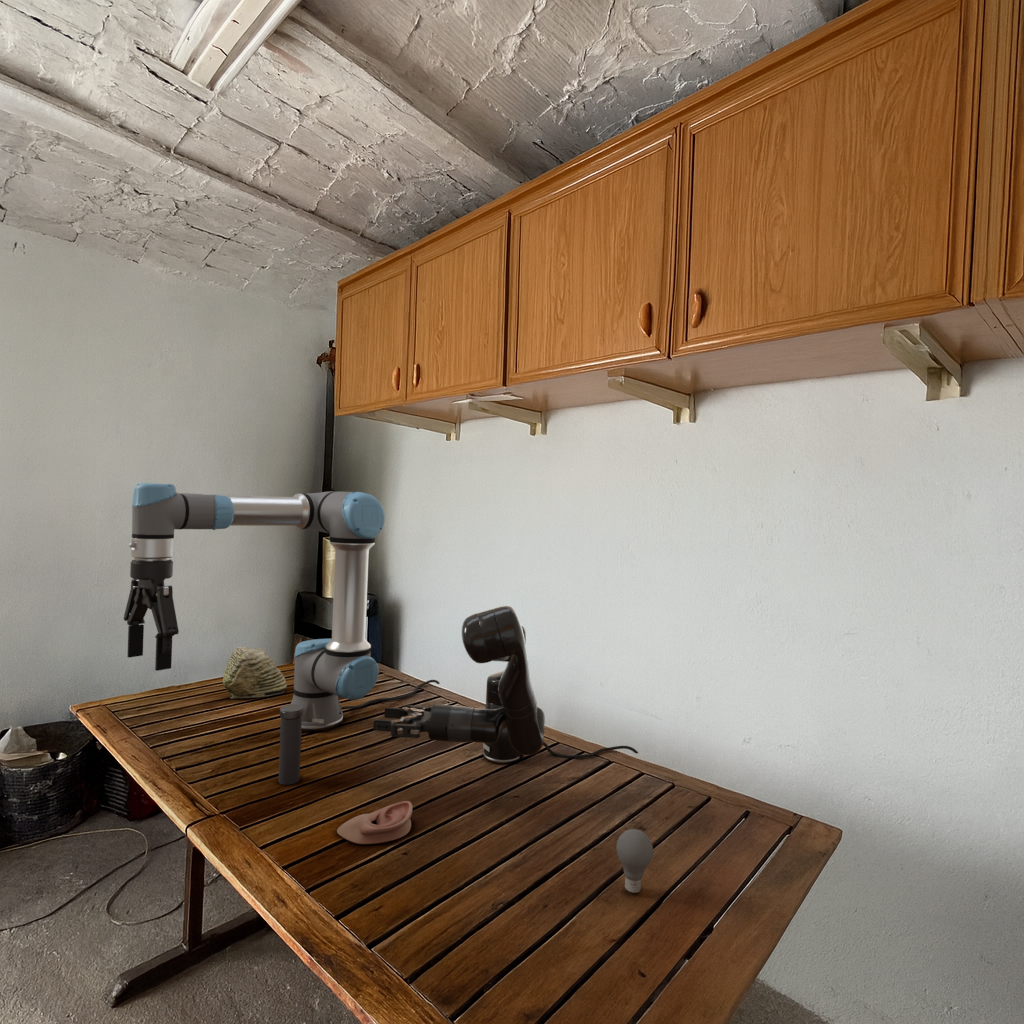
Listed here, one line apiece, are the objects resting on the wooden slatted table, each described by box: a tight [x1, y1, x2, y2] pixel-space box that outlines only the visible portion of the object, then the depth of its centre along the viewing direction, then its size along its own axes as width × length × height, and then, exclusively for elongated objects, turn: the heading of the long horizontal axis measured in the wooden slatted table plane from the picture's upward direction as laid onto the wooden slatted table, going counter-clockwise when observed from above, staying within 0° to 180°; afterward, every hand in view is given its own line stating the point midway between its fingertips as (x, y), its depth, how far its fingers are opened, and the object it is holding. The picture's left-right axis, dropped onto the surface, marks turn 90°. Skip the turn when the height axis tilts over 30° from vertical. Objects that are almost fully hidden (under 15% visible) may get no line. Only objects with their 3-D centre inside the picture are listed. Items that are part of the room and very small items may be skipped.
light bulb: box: [615, 828, 654, 894], centre depth 106 cm, size 6×6×10 cm
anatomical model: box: [336, 800, 414, 845], centre depth 121 cm, size 13×4×12 cm
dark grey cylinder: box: [277, 716, 302, 786], centre depth 141 cm, size 4×4×16 cm
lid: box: [279, 703, 303, 719], centre depth 140 cm, size 5×5×2 cm
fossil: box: [222, 646, 288, 699], centre depth 198 cm, size 9×18×15 cm, turn 132°
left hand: (148, 662), depth 129 cm, fingers open, 13 cm apart
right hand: (379, 718), depth 139 cm, fingers open, 8 cm apart
